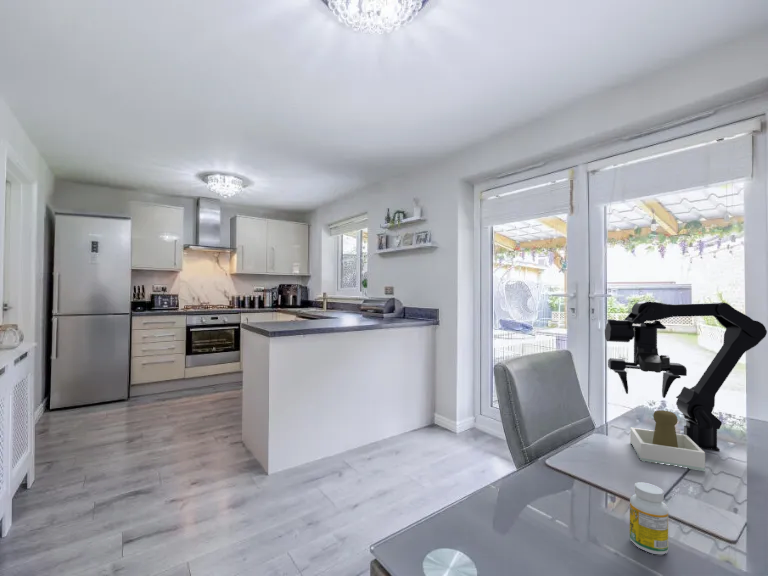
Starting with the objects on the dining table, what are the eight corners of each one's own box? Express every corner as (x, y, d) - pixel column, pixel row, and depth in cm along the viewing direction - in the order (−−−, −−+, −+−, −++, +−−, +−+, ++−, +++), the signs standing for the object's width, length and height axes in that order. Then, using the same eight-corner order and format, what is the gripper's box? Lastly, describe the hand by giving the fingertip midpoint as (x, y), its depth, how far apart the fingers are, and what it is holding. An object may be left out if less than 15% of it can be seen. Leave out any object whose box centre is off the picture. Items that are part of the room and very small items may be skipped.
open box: (686, 451, 103) (686, 434, 103) (705, 471, 91) (705, 452, 91) (630, 442, 109) (630, 427, 109) (640, 460, 97) (640, 443, 97)
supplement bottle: (667, 561, 59) (667, 500, 59) (627, 546, 63) (627, 488, 63) (669, 544, 63) (669, 487, 64) (631, 531, 67) (632, 477, 67)
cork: (669, 448, 103) (669, 408, 103) (685, 458, 97) (685, 415, 97) (646, 447, 103) (646, 407, 104) (660, 456, 97) (660, 414, 98)
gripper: (613, 343, 109) (613, 397, 108) (693, 348, 101) (693, 406, 101) (607, 340, 119) (607, 389, 119) (680, 344, 111) (680, 397, 111)
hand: (645, 395), depth 112 cm, fingers open, 9 cm apart
